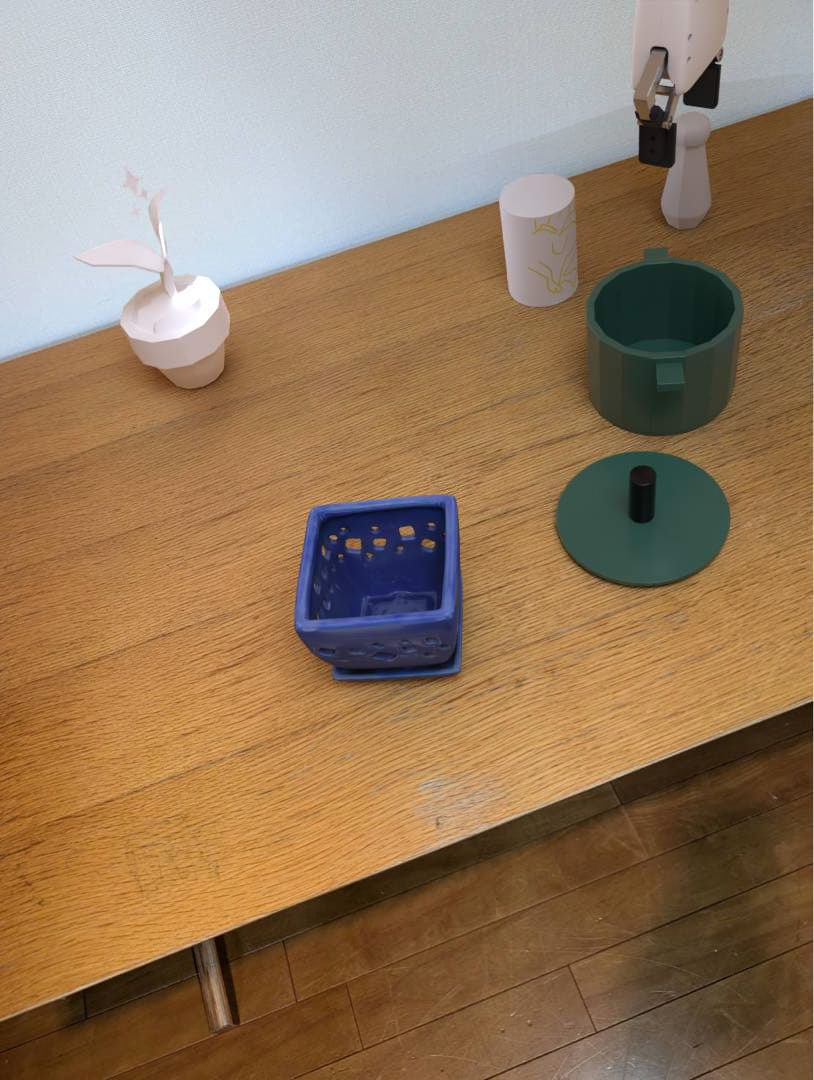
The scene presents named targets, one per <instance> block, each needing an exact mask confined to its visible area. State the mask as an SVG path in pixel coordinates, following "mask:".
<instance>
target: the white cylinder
mask: <svg viewBox="0 0 814 1080" xmlns="http://www.w3.org/2000/svg"><path fill="white" fill-rule="evenodd" d="M575 191H576V190H575V186H574V185H573V183H572V182H571V181H570V180H569V179H568V178H566V177H565V176H562V175H559V174H556V173H551V172H538V173H537V172H536V173H530V174H526V175H523V176H520V177H518V178H516V179H514V180H512V181H510V182H509V183H507V184H506V185H505V186H504V187H503V189H502V190H501V191H500V194H499V197H498V202H499V203H498V204H499V212H500V221H501V231H502V240H503V250H504V258H505V259H504V260H505V269H506V277H507V278H506V279H507V287H508V292H509V294H510V297H511V298H512V299H513V300H514V301H515V302H517V303H519V304H521V305H523V306H527V307H531V308H532V307H533V308H546V307H553V306H555V305H558V304H561V303H563V302H565V301H566V300H568V299H569V298H571V297H572V296H573V295H574V294H575V292H577V289H578V287H579V286H578V285H579V265H578V264H579V263H578V262H579V261H578V240H577V238H578V237H577V217H576V216H577V215H576V214H577V213H576V192H575Z"/></svg>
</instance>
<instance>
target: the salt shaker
mask: <svg viewBox="0 0 814 1080" xmlns="http://www.w3.org/2000/svg"><path fill="white" fill-rule="evenodd" d="M672 123H677V134H676V156H675V164H674V165H673V166H672V168H668V173H667V177H666V180H665V184H664V188H663V191H662V195H661V199H660V205H661V211H662V214H663V216H664V218H665V220H666V222H667V224H668V225H669V226H671V227H673V228H674V229H677V230H679V231H681V230H689V229H696V227H698V225H700V224H701V222H702V221H703V220H704V219H705V217H706V215H707V214H708V212H709V210H710V208H711V206H712V202H713V201H712V192H711V185H710V184H711V183H710V176H709V167H708V159H707V150H706V142H707V141H708V140H709V138H710V136H711V132H712V125H711V124H712V123H711V120H710V118H709V117H708V116H707V115H705V114H704V113H702V112H698V111H688V112H684V113H682V114H679V115H678V116H676V117H674V118H673V122H672Z"/></svg>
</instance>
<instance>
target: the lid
mask: <svg viewBox="0 0 814 1080" xmlns="http://www.w3.org/2000/svg"><path fill="white" fill-rule="evenodd" d="M728 501H729V500H728V499H727V496H726V494H725V492H724V491H723V489H722V487H721V486H720V484H719V483H718V482H717V480H716V479H715V478H714V477H712V475H710V474H709V473H708V472H707V471H706V470H704V469H703V468H701V467H700V466H698V465H697V464H695V463H694V462H691V461H689V460H688V459H684V458H682V457H680V456H676V455H673V454H670V453H665V452H661V451H660V452H659V451H649V450H640V451H639V450H635V451H626V452H620V453H615V454H612V455H609V456H605V457H603V458H601V459H599V460H596V461H594V462H592V463H590V464H589V465H587V466H586V467H584V468H583V469H581V470H579V472H578V473H576V474H575V475H574V476H573V477H572V478H571V479H570V481H569V482H568V483H567V484H566V485H565V488H564V489H563V491H562V492H561V494H560V496H559V500H558V503H557V506H556V513H555V521H556V530H557V533H558V537H559V539H560V542H561V543H562V546H563V548H564V549H565V551H566V552H567V553H568V555H570V557H571V558H572V559H573V561H575V563H577V564H578V565H579V566H580V567H582V568H583V569H585V570H586V571H588V572H589V573H591V574H592V575H594V576H597V577H599V578H601V579H604V580H607V581H609V582H612V583H617V584H620V585H623V586H624V585H626V586H634V587H654V586H663V585H668V584H672V583H675V582H678V581H681V580H682V581H683V580H684V579H686V578H688V577H691V576H693V575H695V574H697V573H698V572H700V571H702V570H703V569H704V568H705V567H706V566H708V565H710V563H712V561H713V560H714V559H715V558H716V557H717V556H718V555H719V554H720V552H721V550H722V549H723V547H724V546H725V543H726V541H727V539H728V536H729V532H730V525H731V510H730V506H729V502H728Z"/></svg>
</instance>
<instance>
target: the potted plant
mask: <svg viewBox="0 0 814 1080" xmlns="http://www.w3.org/2000/svg"><path fill="white" fill-rule="evenodd" d="M124 169H125V175H126V177H125V178H126V179H125V182H124V184H123V185H121V188H127V189H129V190H130V191H131V192H132V193H133V195H134V196H135V198H136V199H137V200H139V199H138V197H139V196H138V191H137V186H138V183H139V181H140V180H142V179H143V177H137V176H134V175H133V174H131V172H130V171H129V169H128V167H126V165H124ZM140 186H141V194H140V197H142V198H144V199H145V201H146V202H148V193H149V190H146V189H144V187H143V185H140ZM164 193H165V188H164V187H163V188H161V189H160V190H158V192H156V193H155V194H154V195H153V196H151V198H150V200H149V204H148V208H147V209H148V213H149V214H148V215H149V221H150V223H151V225H152V228H153V230H154V234H155V236H156V238H157V240H158V242H159V245H160V250H161V251H160V252H161V256H159V255H158V253H157V252H156V251H155V250H154V249H153V248H152V247H150V246H148V245H146V244H144V243H141V242H140V241H137V240H135V239H132V238H130V237H129V238H121V239H119V238H118V239H114V240H111V241H109V242H106V243H103V244H99V245H97V246H94V247H92V248H89V249H88V250H86V251H83V252H81V253H79V254H76V255H75V256H73V259H75V260H76V261H79V262H81V263H83V264H86V265H87V266H90V267H93V268H95V267H97V268H103V267H104V268H106V267H107V268H135V269H139V270H142V271H147V272H151V273H155V274H159V277H160V279H158V280H156V281H154V282H152V283H150V284H148V285H146V286H144V287H142V288H141V289H139V290H138V291H137V292H135V294H134V295H132V297H131V298H130V299H129V301H127V302H126V303H125V304H124V306H123V307H122V313H121V318H120V323H119V324H120V327H121V329H122V331H123V333H124V335H125V337H126V339H127V342H128V343H129V345H130V347H131V349H132V351H133V352H134V353H135V355H136V356H137V358H139V360H140V361H141V363H142V364H143V365H145V366H150V367H153V368H156V369H157V370H159V371H160V372H161V373H162V374H163V375H164V376H165V377H166V378H167V379H168V380H170V381H171V382H172V384H174V385H175V386H176V387H178V388H183V389H185V390H192V389H199V388H203V387H206V386H207V385H209V384H211V383H213V382H215V381H216V380H217V379H218V378H219V377H220V375H221V374H222V373H223V372H224V371H225V370H224V369H225V340H226V339H227V338H228V336H229V335H230V326H231V315H230V312H229V310H228V308H227V305H226V303H225V300H224V298H223V295H222V292H221V290H220V289H219V287H218V286H217V285H215V283H214V282H213V281H212V280H211V279H210V278H209V277H206V276H200V275H195V274H190V273H183V274H178V275H174V270H173V269H174V268H173V267H172V266H171V264H170V263H169V260H168V255H169V254H168V245H167V239H166V236H165V232H164V229H163V226H162V218H161V212H160V206H161V202H162V200H163V197H164ZM141 210H142V208H140V209H139V208H137V207H135V206H134V204H133V203H132V212H131V213H130V214H129V215H132V216H133V215H134V216H135V218H136V219H138V220H139V213H140V211H141Z"/></svg>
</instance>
